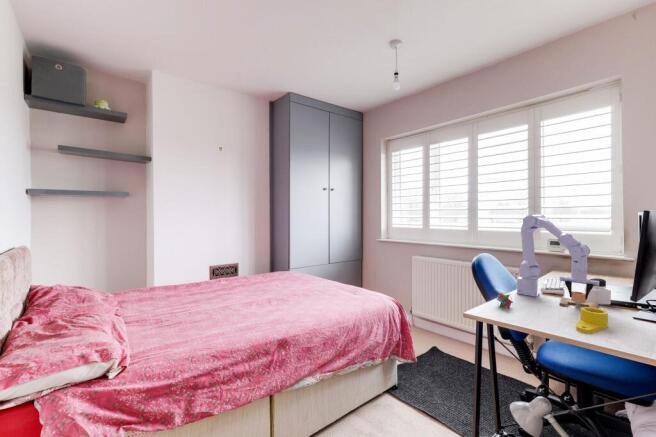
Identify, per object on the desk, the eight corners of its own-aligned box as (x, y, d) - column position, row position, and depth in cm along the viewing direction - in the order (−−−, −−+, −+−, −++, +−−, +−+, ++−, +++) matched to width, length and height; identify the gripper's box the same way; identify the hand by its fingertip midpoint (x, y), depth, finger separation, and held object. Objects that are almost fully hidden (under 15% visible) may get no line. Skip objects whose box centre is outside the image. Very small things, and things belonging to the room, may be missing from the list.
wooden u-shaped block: (559, 305, 148) (559, 302, 148) (561, 299, 157) (561, 297, 157) (597, 311, 139) (597, 309, 139) (597, 305, 148) (597, 302, 148)
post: (574, 307, 145) (574, 295, 145) (574, 305, 147) (574, 294, 147) (581, 308, 143) (582, 297, 143) (581, 307, 145) (582, 295, 145)
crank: (584, 319, 130) (584, 305, 130) (610, 325, 123) (610, 311, 123) (568, 329, 120) (568, 314, 120) (595, 336, 113) (596, 321, 113)
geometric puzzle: (519, 305, 142) (510, 289, 147) (509, 306, 140) (500, 290, 144) (508, 310, 148) (499, 294, 152) (498, 312, 145) (489, 296, 150)
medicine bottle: (610, 304, 148) (611, 280, 148) (596, 304, 148) (596, 280, 148) (598, 300, 155) (598, 277, 155) (584, 300, 156) (584, 277, 155)
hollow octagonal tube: (571, 301, 145) (571, 293, 144) (571, 298, 148) (571, 290, 148) (585, 303, 141) (585, 295, 141) (585, 301, 145) (585, 292, 145)
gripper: (559, 269, 146) (558, 297, 147) (599, 273, 137) (598, 303, 137) (560, 267, 151) (559, 293, 152) (599, 271, 142) (598, 299, 142)
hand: (578, 298), depth 145 cm, fingers closed on hollow octagonal tube, 5 cm apart
